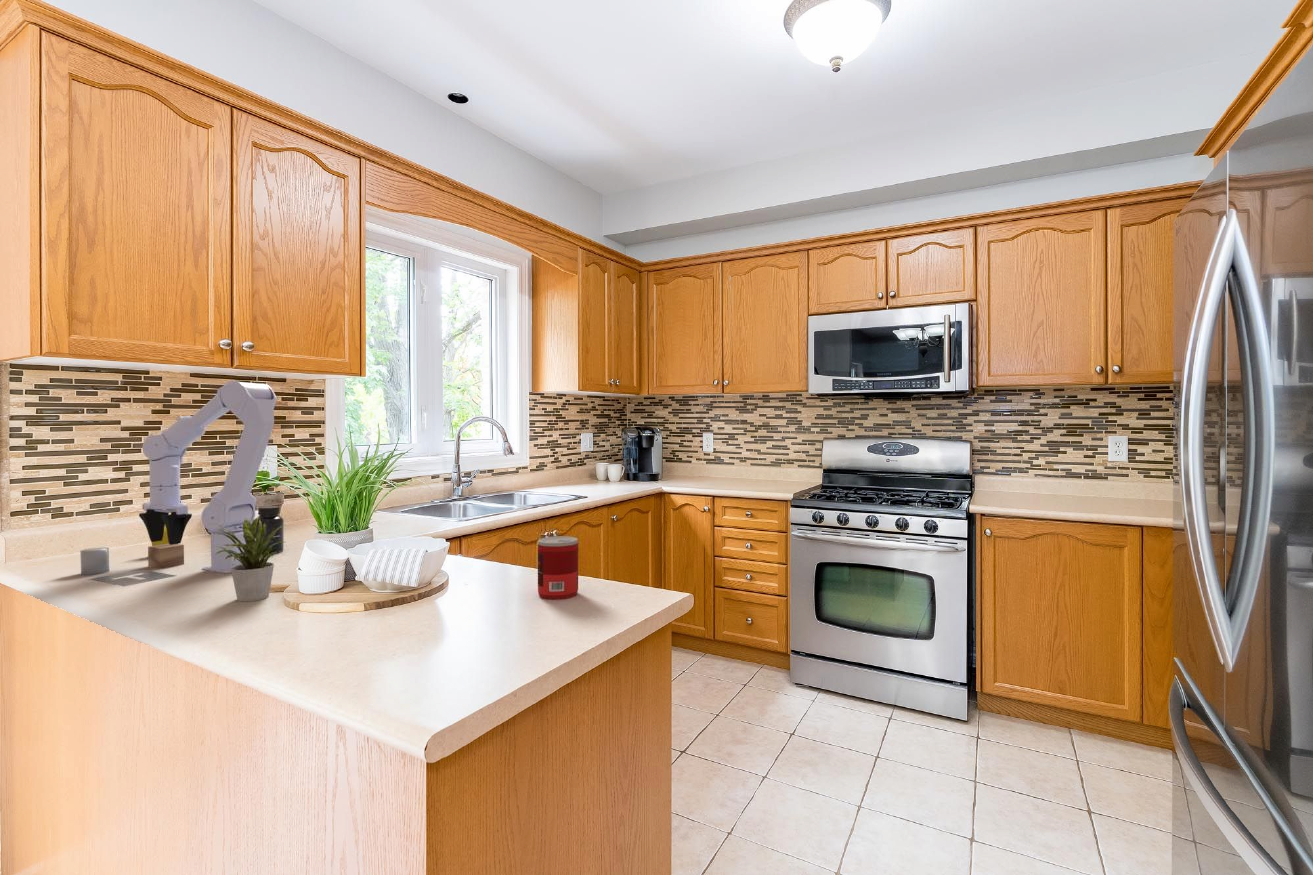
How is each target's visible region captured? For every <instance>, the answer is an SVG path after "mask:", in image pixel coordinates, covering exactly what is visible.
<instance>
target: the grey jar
mask: <svg viewBox="0 0 1313 875" xmlns="http://www.w3.org/2000/svg"><path fill="white" fill-rule="evenodd" d="M79 553H80V575H81V576H97V575H102V574H107V573H109V572H110V548H109V547H105V546H104V547H103V546H102V547H91V548H86V549H81V550H80V552H79Z"/></svg>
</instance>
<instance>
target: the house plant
mask: <svg viewBox="0 0 1313 875" xmlns="http://www.w3.org/2000/svg"><path fill="white" fill-rule="evenodd" d="M259 516H260V515H258V516H257V517H255V518H254V520H253V521H252V522H251V523H250V521H249V520H248V519H246V518H245V521H244V522H243V533H244V535H243V537H244V539H245V542H246V544H242V543H241V541H240V540H239V539H238V538H237V537H236V536H235V535H234V534H233V533H232V532H231V531H230V530H229V529H227V528H226V527H224V526H222V527H224V528H226V529H227V530H229V531H230V533H231V534H230V533H228V532H229V531H228V532H224V531H220V532H224V533H226V534H228V535H226V534H219V535H225V536H226V537H228V538H229V539H231V540H232V541H233V542H234V544H225V546H236V547H237V548H238V549H239V550H240V552H241V553H236V552H235V551H232V550H226V549H225V548H222V547H220V548H222V549H224V550H222V551H219V552H217V553H216V554H218V553H220V552H224V551H226V552H227V553H229V554H230V555H228V556H227V557H226V559H227V558H229V557H232V556H233V557H234V561H235V559H237V560H238V561H239V562H241V563H242V564H241V565H237V566H234V567H232V568H231V572H230V573H231V576H232V581H233V585H234V590H235V596H236V601H238V602H254V601H260V600H264V599H267V598H269V596H270V591H271V586H272V578H273V574H274V573H273V572H274V567H275V564H274V562H269V561H268V560H269V559H270V558H271V557H272V556H274V555H275V554H278V552H273V553H271V554H269V553H270V551H271V550H272V546H273V545H275V544H277V543H275V544H273V545H271V546H270V547H268V548H267V550H266V551H265V552H264V554H262V553H263V551H264V550H265V548H266V546H267V545H268V543H269V542H270V540H271V538H272V537H273V535H274V534H275V533H276V531H277V530H278V529H279V528H280V527H279V528H277V529H276V530H274V531H273V532H272V533H271V534H270V535H269V536H268V537H267V538H266V540H265V542H264V543H263V540H264V536H265V533H266V525H265V523H264V524H263V528H262V524H261V521H260V520H259V525H258V533H257V538H256V541H255V534H256V527H257V522H258V518H259ZM211 525H215V524H211ZM283 525H284V526H285V523H284V524H283ZM283 525H282V526H283ZM219 526H221V525H219ZM282 526H281V527H282ZM219 530H222V529H219ZM227 530H226V531H227ZM229 535H230V536H231V537H230V536H229ZM233 538H234V539H235V540H236V541H237V542H238V543H237V542H236V541H235V540H234V539H233ZM278 543H282V542H278ZM284 543H286V544H287V542H286V541H284ZM262 544H263V546H262ZM214 547H218V546H214ZM240 547H241V548H242V549H243V550H244V552H245V553H244V552H243V551H242V549H241V548H240ZM231 551H232V552H231ZM234 552H235V553H234ZM231 553H232V554H233V555H232V554H231ZM279 553H281V554H283V551H282V552H281V551H280V552H279ZM216 554H215V555H216ZM242 555H243V556H242ZM245 555H246V556H245ZM238 558H239V559H240V560H241V561H240V560H239V559H238ZM226 559H225V560H226Z"/></svg>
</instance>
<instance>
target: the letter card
mask: <svg viewBox="0 0 1313 875" xmlns="http://www.w3.org/2000/svg"><path fill="white" fill-rule="evenodd" d="M173 577H177V574H176V575H175V574H170V573H164V572H158V571H157V572H156V571H152V570H146V569H139V570H133V571H127V572H121V573H115V574H111V575H104V576H100V577H99V576H98V577H94V578H89V579H88V581H89V580H90V581H95V582H100V583H105V584H109V585H110V584H111V585H116V586H119V587H120V586H121V587H127V586H132V585H138V584H143V583H148V582H152V581H157V580H158V581H159V580H164V579H168V578H173Z"/></svg>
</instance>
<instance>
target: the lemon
mask: <svg viewBox="0 0 1313 875" xmlns="http://www.w3.org/2000/svg"><path fill="white" fill-rule="evenodd" d="M163 544H169V542H168V536H167V529H166V526H164V534H163V539H162V541H156V542H151V546H156V545H163Z"/></svg>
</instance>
